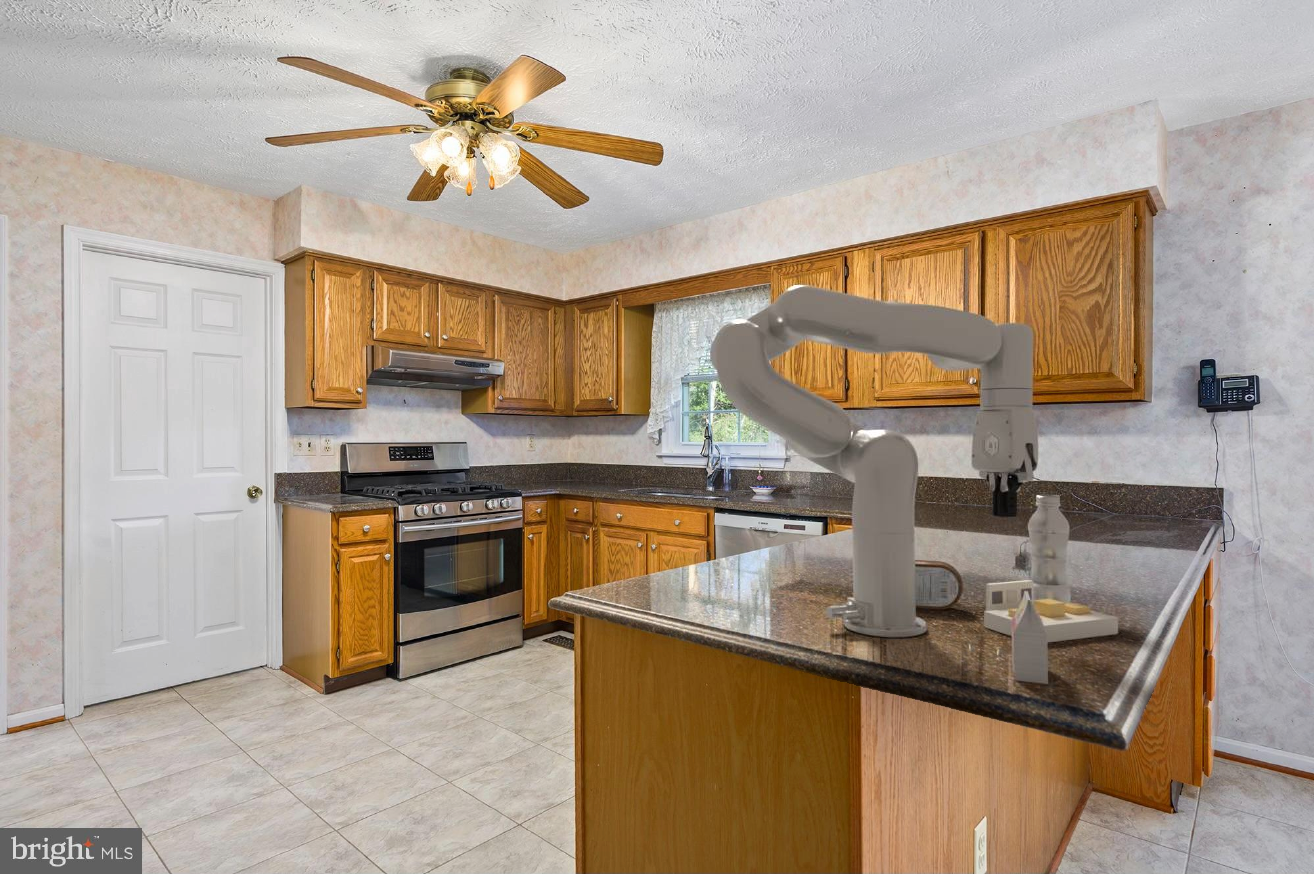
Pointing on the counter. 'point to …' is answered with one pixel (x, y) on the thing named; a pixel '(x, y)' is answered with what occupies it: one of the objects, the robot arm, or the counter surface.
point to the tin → (937, 585)
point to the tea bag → (1029, 644)
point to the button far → (1076, 609)
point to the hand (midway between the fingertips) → (1004, 516)
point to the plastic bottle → (1049, 550)
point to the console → (1059, 625)
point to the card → (1007, 594)
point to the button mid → (1050, 608)
